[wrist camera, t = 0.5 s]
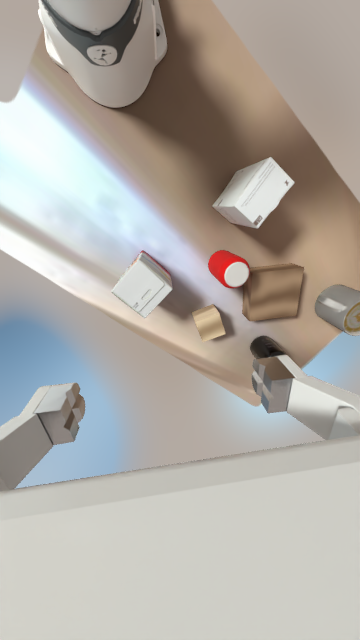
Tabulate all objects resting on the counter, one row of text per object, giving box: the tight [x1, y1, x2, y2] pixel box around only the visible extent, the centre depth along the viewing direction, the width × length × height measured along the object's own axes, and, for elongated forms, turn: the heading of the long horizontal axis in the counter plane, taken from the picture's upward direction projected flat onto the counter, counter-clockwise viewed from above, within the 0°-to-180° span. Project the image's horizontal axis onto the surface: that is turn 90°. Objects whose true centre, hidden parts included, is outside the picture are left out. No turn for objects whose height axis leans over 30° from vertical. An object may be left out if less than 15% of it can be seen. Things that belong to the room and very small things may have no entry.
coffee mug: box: [315, 285, 360, 336], centre depth 54 cm, size 13×10×10 cm
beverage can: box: [208, 250, 250, 288], centre depth 46 cm, size 6×6×12 cm
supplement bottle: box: [250, 336, 287, 359], centre depth 58 cm, size 7×7×12 cm
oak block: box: [191, 304, 226, 342], centre depth 55 cm, size 6×6×6 cm
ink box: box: [111, 251, 173, 318], centre depth 46 cm, size 9×9×12 cm
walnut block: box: [242, 263, 304, 321], centre depth 53 cm, size 12×12×5 cm
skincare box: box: [212, 157, 295, 229], centre depth 39 cm, size 8×6×15 cm
